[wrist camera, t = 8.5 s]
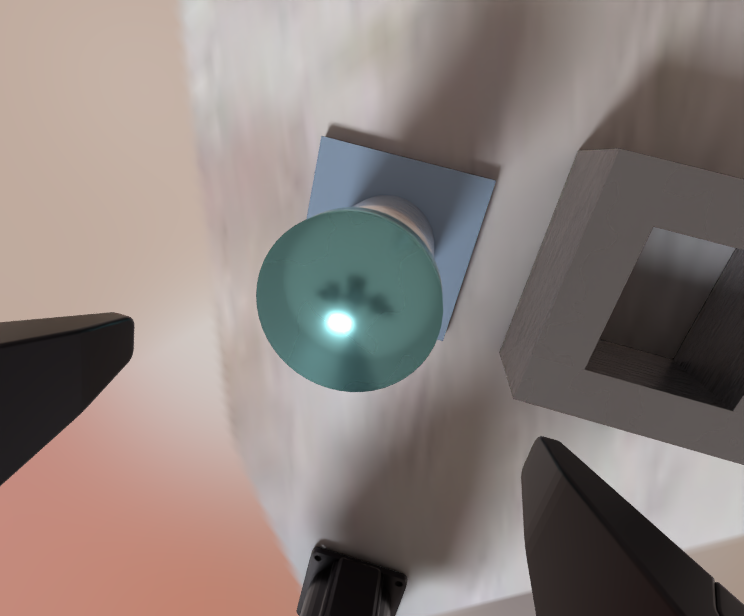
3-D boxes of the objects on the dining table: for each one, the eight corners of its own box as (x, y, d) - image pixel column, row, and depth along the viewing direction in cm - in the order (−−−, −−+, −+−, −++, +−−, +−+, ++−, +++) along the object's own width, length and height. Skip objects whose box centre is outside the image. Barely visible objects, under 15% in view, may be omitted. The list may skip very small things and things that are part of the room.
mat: (442, 336, 22) (442, 341, 21) (295, 295, 22) (292, 298, 22) (494, 180, 19) (496, 180, 19) (325, 136, 20) (321, 135, 19)
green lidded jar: (423, 309, 21) (413, 412, 12) (322, 280, 21) (245, 363, 13) (455, 204, 19) (469, 242, 11) (344, 175, 19) (271, 189, 11)
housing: (695, 407, 21) (757, 468, 17) (499, 352, 22) (513, 398, 18) (816, 210, 18) (933, 226, 13) (578, 150, 18) (619, 148, 14)
